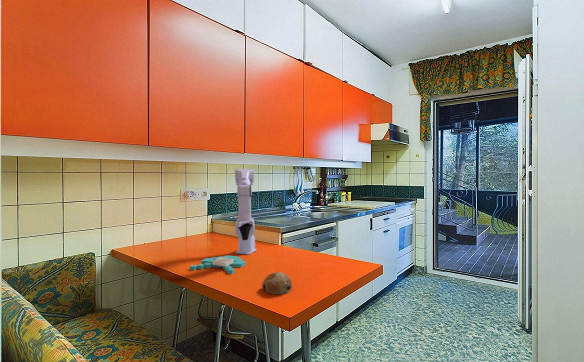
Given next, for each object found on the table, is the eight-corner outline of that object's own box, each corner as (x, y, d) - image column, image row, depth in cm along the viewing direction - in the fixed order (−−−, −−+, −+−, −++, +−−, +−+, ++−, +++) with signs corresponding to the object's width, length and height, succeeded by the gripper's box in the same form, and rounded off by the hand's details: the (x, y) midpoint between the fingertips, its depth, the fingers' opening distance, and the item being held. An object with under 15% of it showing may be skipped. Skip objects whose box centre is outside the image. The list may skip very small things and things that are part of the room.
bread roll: (279, 306, 108) (288, 286, 107) (255, 290, 111) (263, 270, 110) (290, 295, 117) (299, 277, 116) (267, 281, 121) (275, 262, 119)
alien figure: (232, 275, 131) (251, 261, 150) (232, 270, 131) (251, 257, 150) (189, 271, 137) (213, 258, 156) (189, 266, 137) (213, 254, 156)
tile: (220, 257, 145) (212, 260, 139) (233, 259, 142) (225, 262, 136) (220, 260, 145) (212, 264, 139) (233, 262, 142) (225, 266, 136)
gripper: (245, 213, 139) (245, 243, 139) (259, 208, 153) (259, 237, 153) (231, 212, 141) (231, 242, 141) (245, 208, 155) (246, 236, 155)
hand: (245, 239), depth 147 cm, fingers closed
